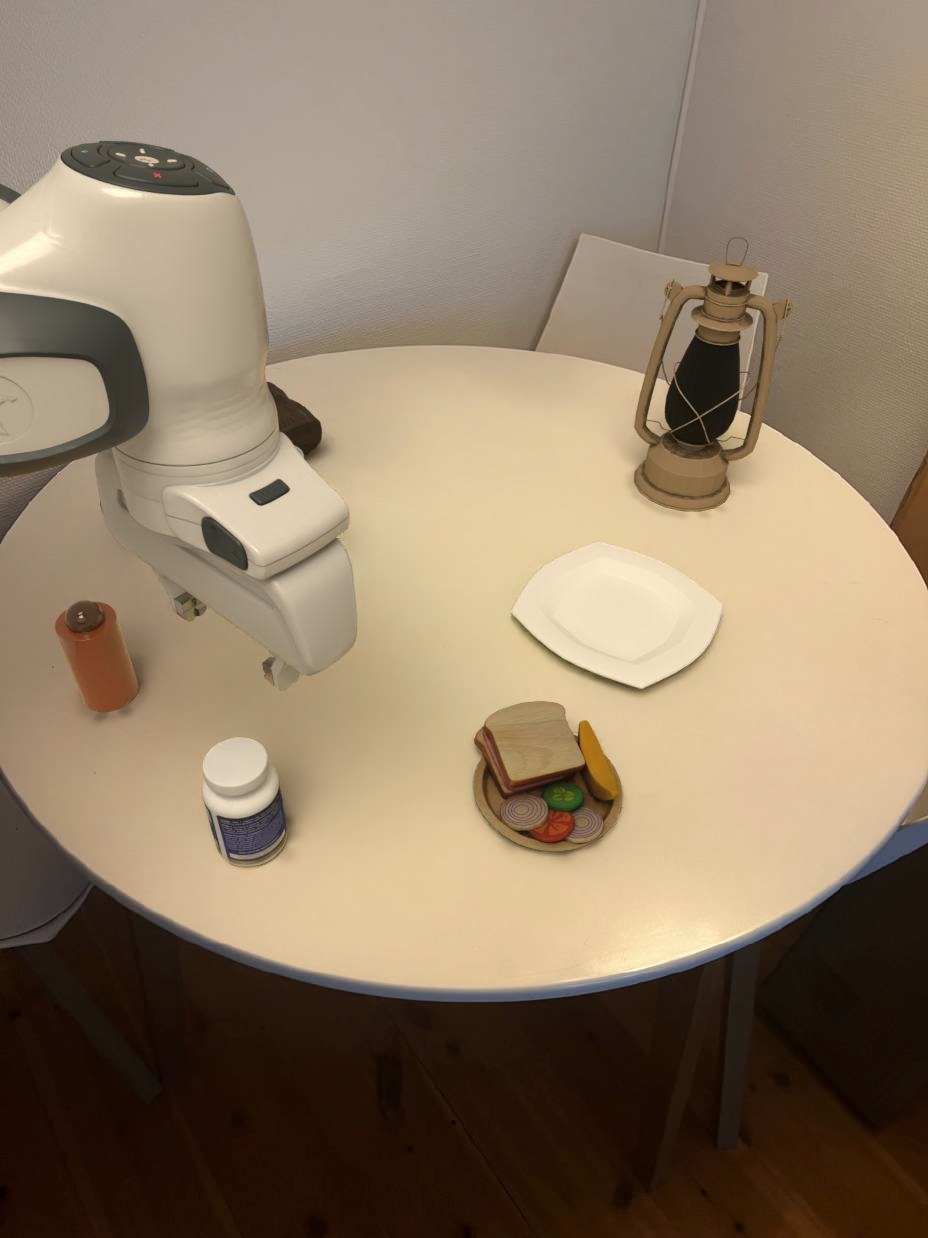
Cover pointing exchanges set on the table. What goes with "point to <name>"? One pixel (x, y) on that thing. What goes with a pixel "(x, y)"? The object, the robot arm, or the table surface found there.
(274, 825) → the pill bottle
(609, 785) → the toy sandwich meal
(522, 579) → the table surface
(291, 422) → the dark brown bone
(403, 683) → the table surface
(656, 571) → the plate
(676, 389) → the lantern
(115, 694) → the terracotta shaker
